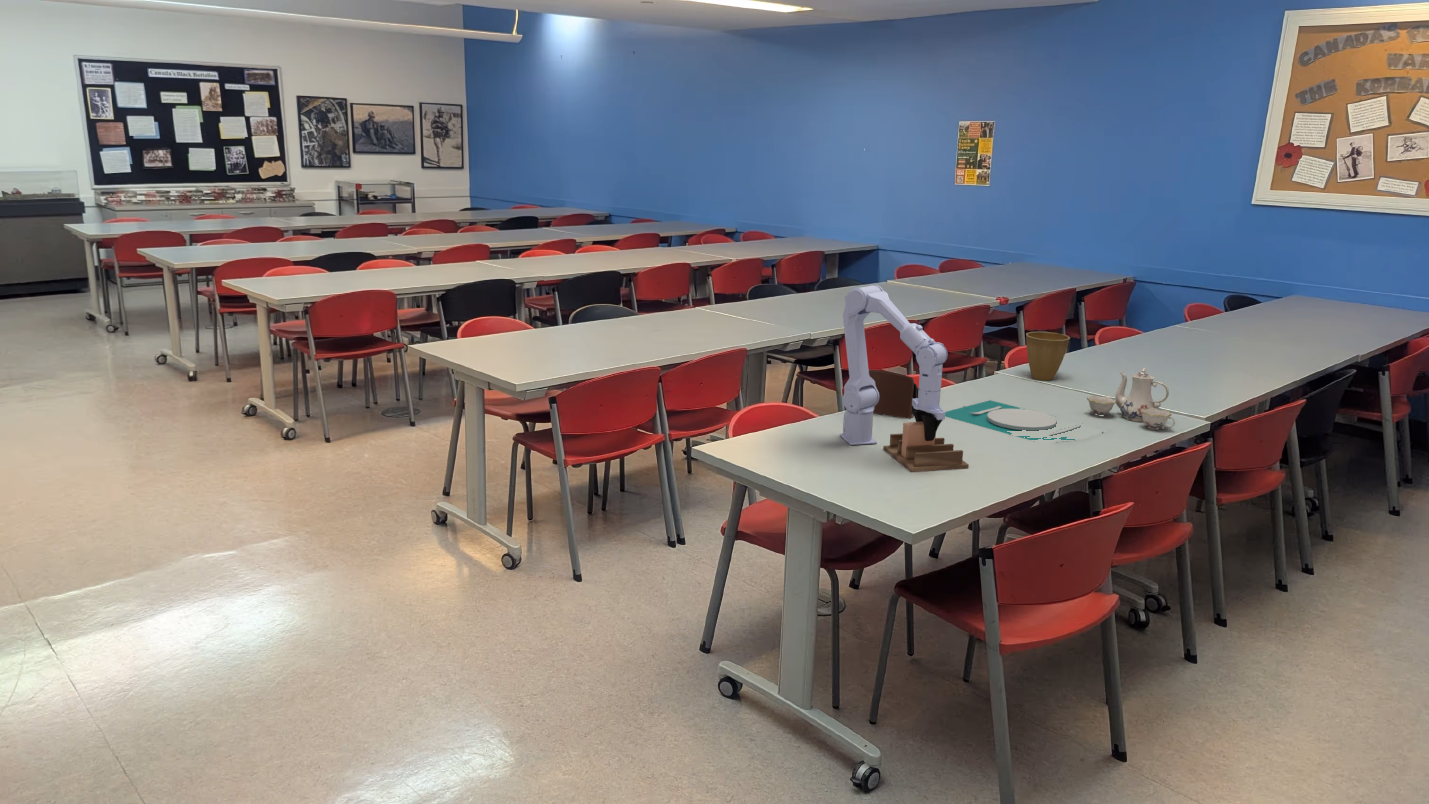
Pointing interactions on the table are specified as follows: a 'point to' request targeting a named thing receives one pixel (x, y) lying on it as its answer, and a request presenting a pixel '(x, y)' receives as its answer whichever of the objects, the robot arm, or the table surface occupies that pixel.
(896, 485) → the table surface
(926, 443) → the orange-brown angular block
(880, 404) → the letter holder
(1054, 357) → the plant pot
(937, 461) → the dish rack
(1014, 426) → the place mat
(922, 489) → the table surface
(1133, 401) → the chinaware
